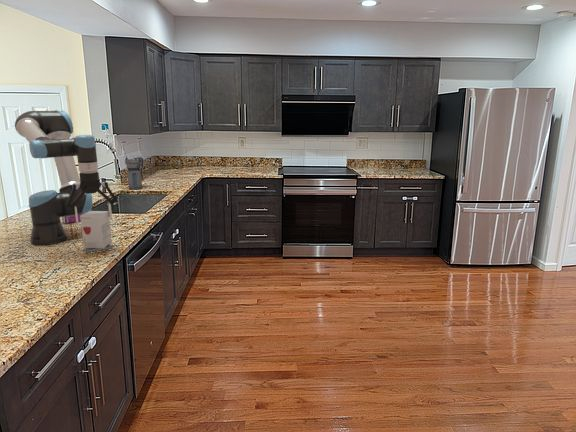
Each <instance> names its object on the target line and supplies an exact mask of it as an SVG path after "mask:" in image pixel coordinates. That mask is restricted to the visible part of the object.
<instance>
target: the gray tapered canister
mask: <svg viewBox="0 0 576 432" xmlns="http://www.w3.org/2000/svg"><path fill="white" fill-rule="evenodd" d="M124 163H125V165H126V169H127V170H126V173H127V180H128V181H127V182H128V189H129V190H134V191H135V190H140V189H142V188H143V182H142V181H144V178H143V170H144V168H143V167H144V158H143V157H141V156H138V157H136V158H135V157H133V158H132V159H131V158H130V159H128V157H127V156H126V157H125V158H124Z"/></svg>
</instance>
